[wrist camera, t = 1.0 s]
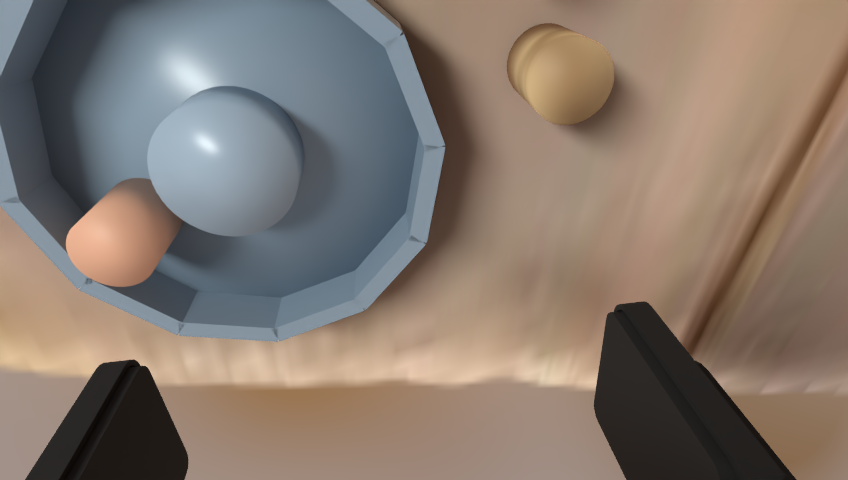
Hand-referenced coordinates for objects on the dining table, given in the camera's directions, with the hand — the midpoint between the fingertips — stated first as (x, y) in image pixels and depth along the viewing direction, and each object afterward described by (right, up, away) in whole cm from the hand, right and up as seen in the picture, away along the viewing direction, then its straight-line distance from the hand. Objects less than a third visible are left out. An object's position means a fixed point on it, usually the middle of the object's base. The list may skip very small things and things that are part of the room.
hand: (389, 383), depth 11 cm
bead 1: (-15, +5, +18) cm, 24 cm away
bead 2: (+7, +13, +17) cm, 22 cm away
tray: (-9, +8, +18) cm, 22 cm away
